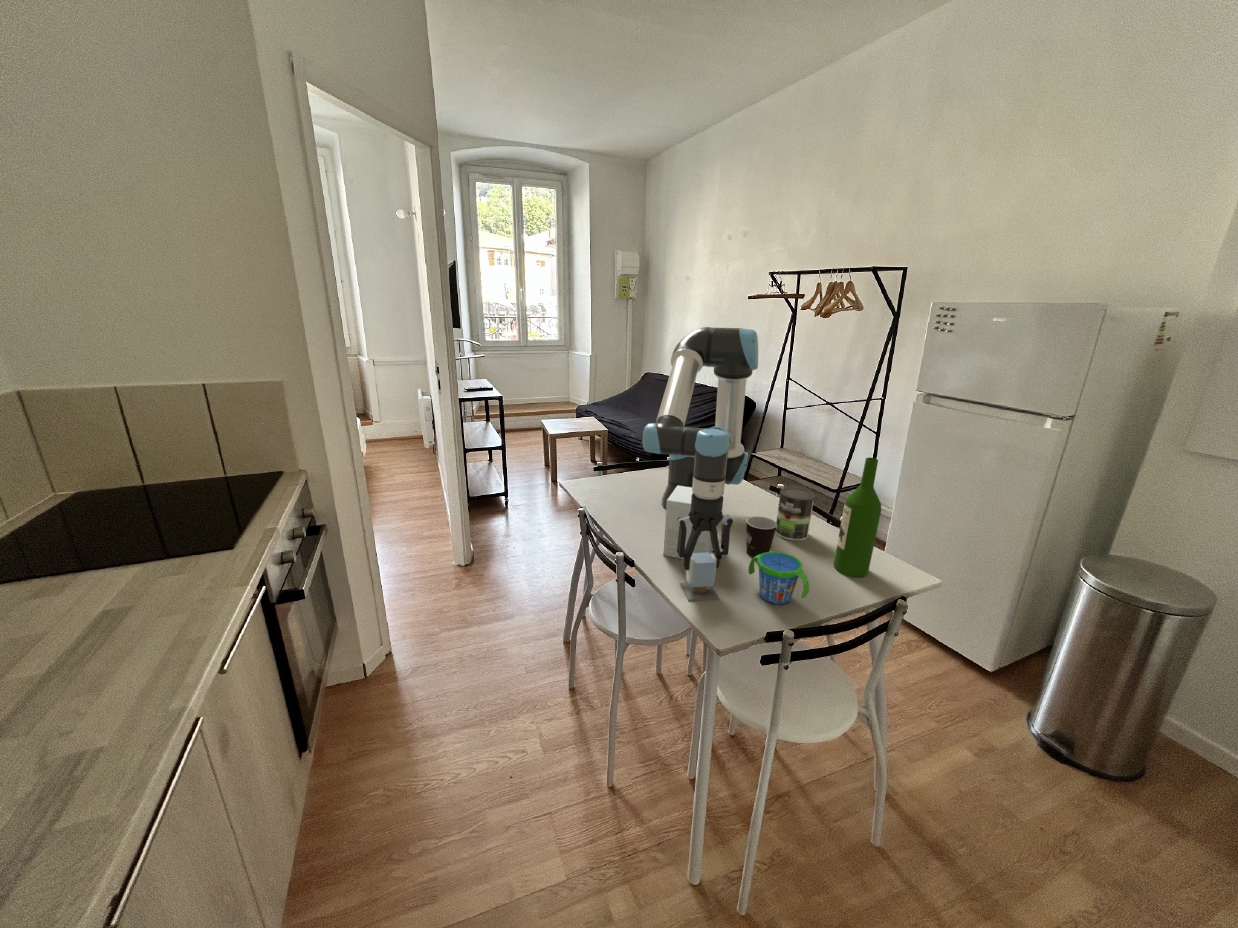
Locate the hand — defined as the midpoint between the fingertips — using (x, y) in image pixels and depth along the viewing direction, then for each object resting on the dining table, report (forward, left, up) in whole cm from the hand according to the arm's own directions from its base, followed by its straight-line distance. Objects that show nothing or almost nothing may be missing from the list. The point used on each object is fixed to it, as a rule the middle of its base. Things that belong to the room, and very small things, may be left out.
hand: (700, 579), depth 124 cm
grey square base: (0, 0, -3) cm, 3 cm away
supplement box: (-22, +4, -4) cm, 23 cm away
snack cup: (+4, +18, -4) cm, 19 cm away
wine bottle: (-6, +46, -4) cm, 47 cm away
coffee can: (-29, +40, -4) cm, 50 cm away
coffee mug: (-19, +24, -4) cm, 31 cm away
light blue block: (0, 0, 0) cm, 0 cm away
